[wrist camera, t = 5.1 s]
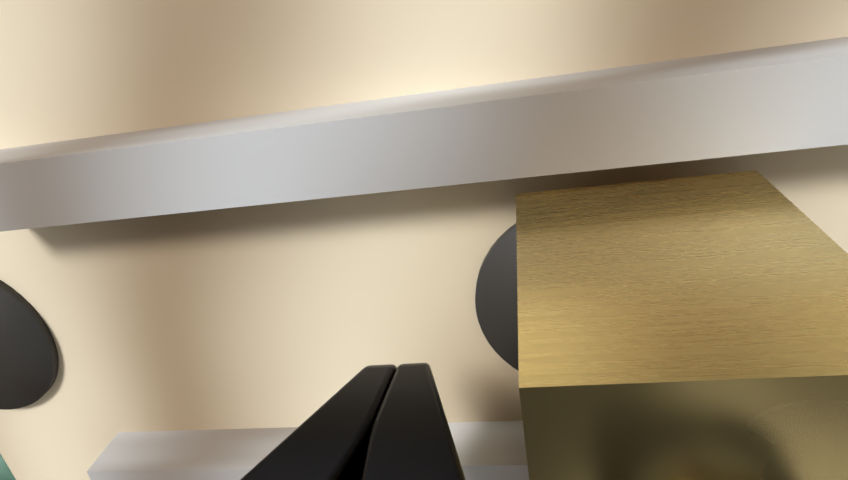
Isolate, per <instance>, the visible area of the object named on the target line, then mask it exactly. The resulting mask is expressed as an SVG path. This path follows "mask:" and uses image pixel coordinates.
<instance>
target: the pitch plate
mask: <svg viewBox="0 0 848 480" xmlns="http://www.w3.org/2000/svg"><path fill="white" fill-rule="evenodd" d="M755 170H757V171H758V172H759V173H760V174H761V175H762V176H763V177H764V178H766V179H767V180H768V181H769V182H770V183H771V184H772V185H773V186H774V187H775V188H776V189H778V190H779V191H780V192H781V193H782V194H783V195H784V196H785V197H786V198H787V199H789V200H790V201H791V202H792V203H793V204H794V205H795V206H796V207H797V208H798V209H799V210H801V211H802V212H803V213H804V214H805V215H806V216H807V217H808V218H809V219H810V220H811V221H813V222H814V223H815V224H816V225H817V226H818V227H819V228H820V229H821V230H822V231H823V232H825V233H826V234H827V235H828V236H829V237H830V238H831V239H832V240H833V241H834V242H836V243H837V244H838V245H839V246H840V247H841V248H842V249H843V250H844V251H845V252H846V253H848V0H0V453H1V455H2V457H3V458H4V460H5V462H6V463H7V465H8V467H9V468H10V470H11V472H12V473H13V475H14V477H15V478H16V480H240V479H241V478H242V477H244V476H245V475H246V474H247V473H248V472H249V471H250V470H251V469H252V468H254V467H255V466H256V465H257V464H258V463H259V462H260V461H261V460H262V459H263V458H265V457H266V456H267V455H268V454H269V453H270V452H271V451H272V450H273V449H275V448H276V447H277V446H278V445H279V444H280V443H281V442H282V441H283V440H285V439H286V438H287V437H288V436H289V435H290V434H291V433H292V432H293V431H294V430H296V429H297V428H298V427H299V426H300V425H301V424H302V423H303V422H304V421H306V420H307V419H308V418H309V417H310V416H311V415H312V414H313V413H314V412H315V411H317V410H318V409H319V408H320V407H321V406H322V405H323V404H324V403H325V402H327V401H328V400H329V399H330V398H331V397H332V396H333V395H334V394H335V393H337V392H338V391H339V390H340V389H341V388H342V387H343V386H344V385H345V384H346V383H348V382H349V381H350V380H351V379H352V378H353V377H354V376H355V375H356V374H358V373H359V372H360V371H361V370H362V369H363V368H365V367H366V366H369V365H387V364H393V365H395V366H397V367H398V366H399V365H401V364H407V363H427V364H429V365H430V368H431V371H432V374H433V377H434V380H435V383H436V386H437V390H438V393H439V396H440V399H441V402H442V406H443V409H444V412H445V415H446V418H447V421H448V425H449V428H450V431H451V434H452V437H453V441H454V444H455V447H456V450H457V453H458V456H459V460H460V463H461V466H462V469H463V472H464V476H465V479H466V480H529V473H528V464H527V455H526V447H525V438H524V429H523V420H522V412H521V403H520V394H519V368H518V300H517V231H516V194H521V193H531V192H541V191H551V190H561V189H572V188H582V187H592V186H602V185H612V184H623V183H633V182H643V181H653V180H663V179H673V178H684V177H694V176H704V175H714V174H724V173H735V172H745V171H755Z"/></svg>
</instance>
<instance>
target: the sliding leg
mask: <svg viewBox="0 0 848 480" xmlns="http://www.w3.org/2000/svg"><path fill="white" fill-rule="evenodd" d="M516 231H517V300H518V368H519V394H520V403H521V412H522V420H523V429H524V438H525V447H526V455H527V464H528V473H529V480H848V253H846V252H845V251H844V250H843V249H842V248H841V247H840V246H839V245H838V244H837V243H836V242H834V241H833V240H832V239H831V238H830V237H829V236H828V235H827V234H826V233H825V232H823V231H822V230H821V229H820V228H819V227H818V226H817V225H816V224H815V223H814V222H813V221H811V220H810V219H809V218H808V217H807V216H806V215H805V214H804V213H803V212H802V211H801V210H799V209H798V208H797V207H796V206H795V205H794V204H793V203H792V202H791V201H790V200H789V199H787V198H786V197H785V196H784V195H783V194H782V193H781V192H780V191H779V190H778V189H776V188H775V187H774V186H773V185H772V184H771V183H770V182H769V181H768V180H767V179H766V178H764V177H763V176H762V175H761V174H760V173H759V172H758V171H757V170H755V171H745V172H735V173H724V174H714V175H704V176H694V177H684V178H673V179H663V180H653V181H643V182H633V183H623V184H612V185H602V186H592V187H582V188H572V189H561V190H551V191H541V192H531V193H521V194H516Z"/></svg>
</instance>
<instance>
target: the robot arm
mask: <svg viewBox="0 0 848 480" xmlns="http://www.w3.org/2000/svg"><path fill="white" fill-rule="evenodd" d="M240 480H466V479H465V476H464V472H463V469H462V466H461V463H460V460H459V456H458V453H457V450H456V447H455V444H454V441H453V437H452V434H451V431H450V428H449V425H448V421H447V418H446V415H445V412H444V409H443V406H442V402H441V399H440V396H439V393H438V390H437V386H436V383H435V380H434V377H433V374H432V371H431V368H430V365H429V364H427V363H407V364H401V365H399V366H398V367H397V366H395V365H393V364H387V365H369V366H366V367H365V368H363V369H362V370H361V371H360V372H359V373H358V374H356V375H355V376H354V377H353V378H352V379H351V380H350V381H349V382H348V383H346V384H345V385H344V386H343V387H342V388H341V389H340V390H339V391H338V392H337V393H335V394H334V395H333V396H332V397H331V398H330V399H329V400H328V401H327V402H325V403H324V404H323V405H322V406H321V407H320V408H319V409H318V410H317V411H315V412H314V413H313V414H312V415H311V416H310V417H309V418H308V419H307V420H306V421H304V422H303V423H302V424H301V425H300V426H299V427H298V428H297V429H296V430H294V431H293V432H292V433H291V434H290V435H289V436H288V437H287V438H286V439H285V440H283V441H282V442H281V443H280V444H279V445H278V446H277V447H276V448H275V449H273V450H272V451H271V452H270V453H269V454H268V455H267V456H266V457H265V458H263V459H262V460H261V461H260V462H259V463H258V464H257V465H256V466H255V467H254V468H252V469H251V470H250V471H249V472H248V473H247V474H246V475H245V476H244V477H242V478H241V479H240Z"/></svg>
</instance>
